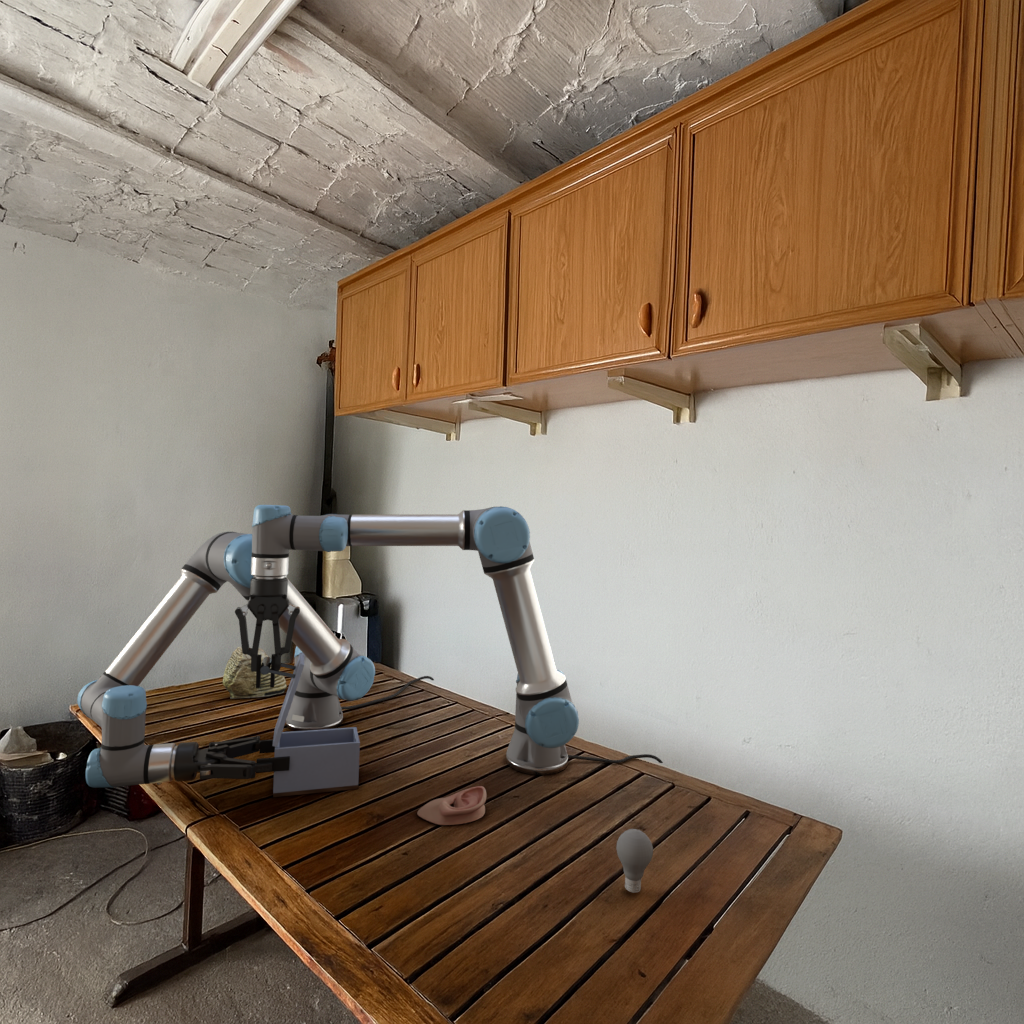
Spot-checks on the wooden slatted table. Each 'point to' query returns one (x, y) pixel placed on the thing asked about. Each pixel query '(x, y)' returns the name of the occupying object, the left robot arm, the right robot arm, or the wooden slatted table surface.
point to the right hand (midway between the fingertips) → (265, 685)
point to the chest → (318, 761)
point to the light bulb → (634, 857)
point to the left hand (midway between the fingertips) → (290, 753)
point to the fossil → (249, 677)
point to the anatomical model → (456, 807)
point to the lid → (290, 692)
